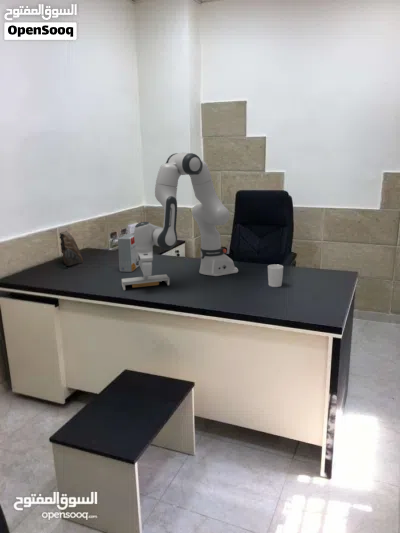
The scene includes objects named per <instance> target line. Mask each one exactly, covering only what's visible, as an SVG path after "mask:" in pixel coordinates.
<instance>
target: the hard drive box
mask: <svg viewBox="0 0 400 533" xmlns="http://www.w3.org/2000/svg"><path fill="white" fill-rule="evenodd" d="M135 246H136V244H135V240H134V233H127V234H125V235H123V236H121V237H119V238H117V247H118V250H117V251H118V263H119V272H123V273H126V272H127V273H132V272H134V271H135V270H136V269H138V268H140V265H139V261H138V259H137V258H136V254H135Z"/></svg>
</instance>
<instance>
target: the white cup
mask: <svg viewBox="0 0 400 533" xmlns="http://www.w3.org/2000/svg"><path fill="white" fill-rule="evenodd" d="M283 277H284V265H282V264H275V263H274V264H269V265H267V280H268V286H269V287H272V288H278V287H282V284H283Z"/></svg>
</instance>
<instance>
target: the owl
mask: <svg viewBox="0 0 400 533" xmlns="http://www.w3.org/2000/svg"><path fill="white" fill-rule="evenodd" d="M59 239H60V249H61V251H60V252H61V253H62V258H63V265H65V266H72V265H76V264H81V263H83V262H84V259H83V257H82V256H83V255H82V253H81V251H80V249H79V246H78V244H77V242H76V240H75V239H74V236H72V234H70V232H69V231H68V230H65V231H60V233H59Z"/></svg>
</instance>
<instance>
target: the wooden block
mask: <svg viewBox="0 0 400 533" xmlns="http://www.w3.org/2000/svg"><path fill="white" fill-rule="evenodd" d="M159 285H160V282H159V281H158V282H149V283H139V284H132V285H131V287H132V288H133V289H134V288H142V287H152V286H159Z"/></svg>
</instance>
